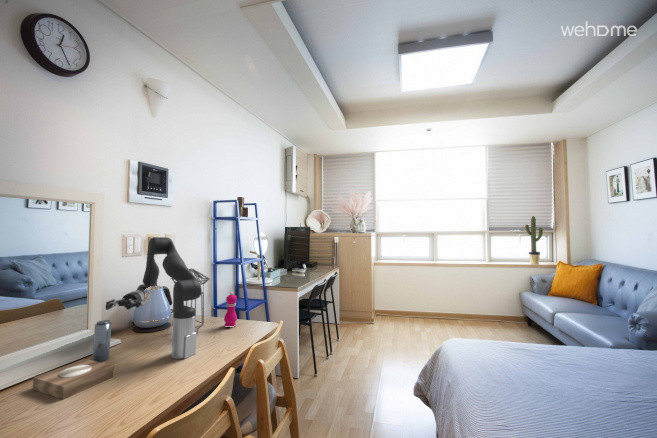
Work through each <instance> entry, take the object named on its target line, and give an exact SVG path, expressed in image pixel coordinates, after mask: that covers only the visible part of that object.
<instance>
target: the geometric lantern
mask: <svg viewBox="0 0 657 438" xmlns="http://www.w3.org/2000/svg"><path fill="white" fill-rule="evenodd" d="M188 269H189V271H190V272H191V273H192V274H193V275H194V276H195V278H196V279H197V280H198V281H199V283H200V285H201V286H202V293H201V296H200V301H201V303H200V304H201V307H200V308H201V321H199V320H197V319H196V320H195V322H197V323H199V324H201V325H197V326H196V325H195V332H196V333H197V334H198V332H199V329H201V327H203V326H204V324H205V292H204V291H205V290H204V289H205V288H204V286H205V284H206V283H207V282H208V281H210V280H211V278H210V277H209V276H207V275H205V274H202V273H201V272H199V270H196V269H194V268H188ZM170 280H172V281H173V283H174V284H175V283H176V282H177V280H175V279H173V278H171V277H170ZM185 306H188V301H185ZM190 307H193V300H190ZM194 308H195V309H196V310H197V299H194ZM171 327H173V320H172V322H171Z"/></svg>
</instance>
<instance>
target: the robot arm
mask: <svg viewBox="0 0 657 438" xmlns="http://www.w3.org/2000/svg"><path fill="white" fill-rule="evenodd" d="M146 253H147V254H146V263H145V264H146V266H145V272H144V275H143V278H142V284H140V285H138V287H137V289H136V290H133V291H131V292H128V293H126V294H125V295H123V296H122V298H120V299H114V298H113V299H111V300H108V301H106V302H105V310H107V311H108V310H110V309H112V308H113V309H115V308H116V309H117V308H124V309H126V310H128V311H129V310H131V309H134V308H136V309H137V308H140V307H141V306H143V303H144V301H145V300H144V299H145V292H144V290H145V289H146V288H148V287H150V286H151V284H154V283H155V285H156V286H157V287H158V279H159V276H160V268H159V266H158V264H157V261H156V260H155V255H165V256H164V259H163V260H162V268H163V270H164V271H165V274H166V275H167V276H168V277H169V278H170V279H171V278H173V279H175V280H174V281H176V280H177V281H176V283H174V285H173V286H172V287H173V288H172V300H173V301H172V313H173V314H172V316H173V317H172V321H173V326H171V327H172V329H171V330H172V331H171V346H170V347H171V348H170V357H171V358H172V359H175V360H176V359H177V360H178V359H179V360H180V359H188V358H189V357H191V356H194V355H196V351H197V336H198V335H197V334H198V333H196V332H195V331H196V328H195V327H196V321H195V320H197V308H196V309H195V307H193V306H192V307H191V306H188V305H187V306H186V304H185V302H186V301H187V302H188V301H191V300H192V301H195V299H196V300H198V299H199V298H201V293H202V292H203V288H202V285H200V284H201V283H200V282H199V281H198V280H199V279H198V280H197V278H196V277H195V276H194V273H193V274H192V273H191V272H190V271H189V269H190V268H188V266H187V265H186V263H185V261H184V260H183V258H182V257H181V256H180V254H179V253H178V251H177V249H176V246H175V244H174V241H173V240H172V238H170V237H166V236H164V237H163V236H160V237H159V236H153V237H151V238H150V239H149V242H148V246H147V252H146ZM143 300H144V301H143Z"/></svg>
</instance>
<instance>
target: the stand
mask: <svg viewBox="0 0 657 438" xmlns="http://www.w3.org/2000/svg"><path fill="white" fill-rule="evenodd" d="M114 369H115V367H114V365H112V364H111V365H110V364H107V363H104V362H96V361H93V359H89V358H83V359H81V360H78V361H75V362H72V363H70V364H67V365H63V366H61V367H58V368H56V369H53V370H51V371H47V372H45V373H42V374H39V375H37V376H34V377H33V381H32V383H33V384H32V390H34V391H37V392H40V393H42V394H45V395H49V396H52V397H53V398H54V397H55V398H57V399H59V400H65V399H67V398H70V397H72V396H74V395H76V394H78V393H80V392H83V391H85V390H88V389H90V388H91V387H93V386H97V385H98V384H101V383H103V382H105V381H107V380H110V379H111V378H114Z"/></svg>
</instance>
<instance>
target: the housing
mask: <svg viewBox="0 0 657 438" xmlns="http://www.w3.org/2000/svg"><path fill="white" fill-rule="evenodd" d="M93 332H94V333H93V349H92V360H93V361H96V362H100V363H104V362H105V361H108V360H109V359H110V350H111V332H112V322H111V321H110V319H107V320H106V319H105V320H103V319H102V320H99V321H96V323H95V324H94V331H93Z"/></svg>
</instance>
